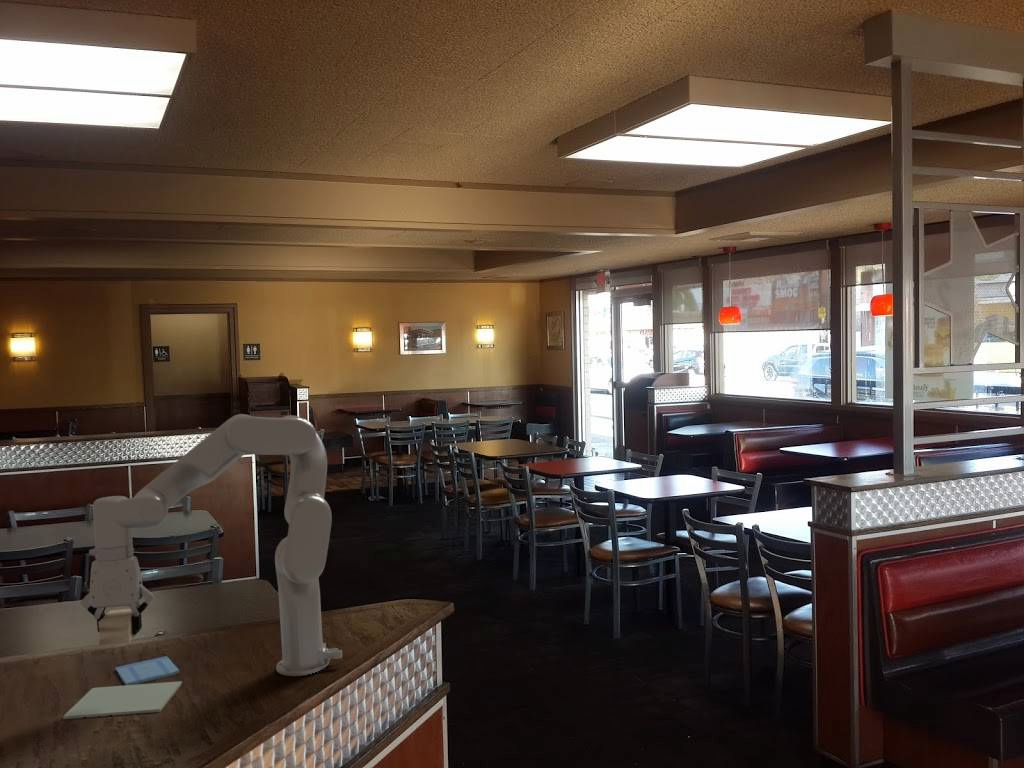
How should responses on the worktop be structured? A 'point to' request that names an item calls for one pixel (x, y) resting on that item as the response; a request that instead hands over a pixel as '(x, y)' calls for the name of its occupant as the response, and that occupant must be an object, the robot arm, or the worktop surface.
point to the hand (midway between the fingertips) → (120, 633)
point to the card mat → (123, 700)
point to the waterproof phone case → (147, 670)
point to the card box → (116, 627)
